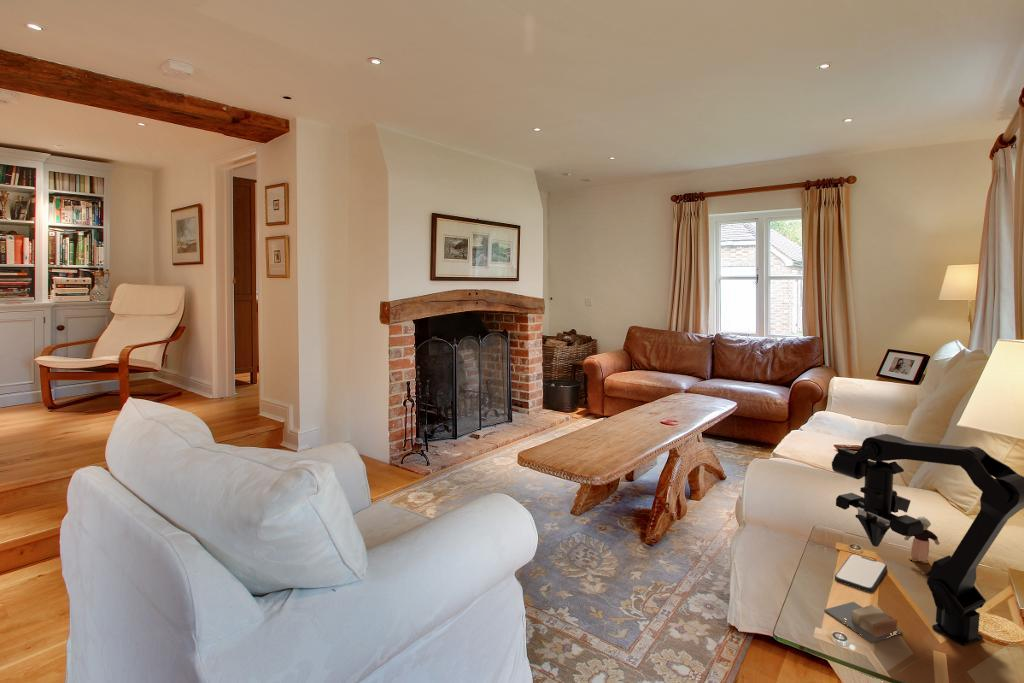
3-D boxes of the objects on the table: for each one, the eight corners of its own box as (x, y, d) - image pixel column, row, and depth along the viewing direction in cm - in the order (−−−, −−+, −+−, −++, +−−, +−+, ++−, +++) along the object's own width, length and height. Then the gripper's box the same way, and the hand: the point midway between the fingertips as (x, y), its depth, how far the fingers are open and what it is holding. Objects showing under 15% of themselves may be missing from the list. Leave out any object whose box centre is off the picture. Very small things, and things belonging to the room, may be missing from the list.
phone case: (872, 595, 134) (888, 569, 145) (872, 589, 134) (888, 563, 144) (832, 582, 140) (850, 558, 151) (832, 576, 140) (851, 552, 151)
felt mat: (902, 633, 119) (902, 632, 119) (871, 643, 116) (871, 641, 116) (853, 603, 130) (853, 601, 130) (824, 611, 127) (824, 609, 127)
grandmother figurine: (907, 562, 147) (910, 518, 145) (902, 555, 151) (904, 512, 149) (940, 566, 145) (943, 521, 143) (934, 559, 148) (937, 515, 147)
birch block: (871, 615, 125) (896, 631, 119) (851, 621, 123) (876, 637, 117) (871, 604, 124) (897, 620, 119) (851, 610, 122) (876, 626, 117)
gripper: (942, 494, 125) (938, 558, 127) (867, 468, 142) (864, 524, 144) (907, 502, 121) (903, 567, 123) (835, 474, 139) (833, 531, 141)
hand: (875, 545), depth 133 cm, fingers closed
